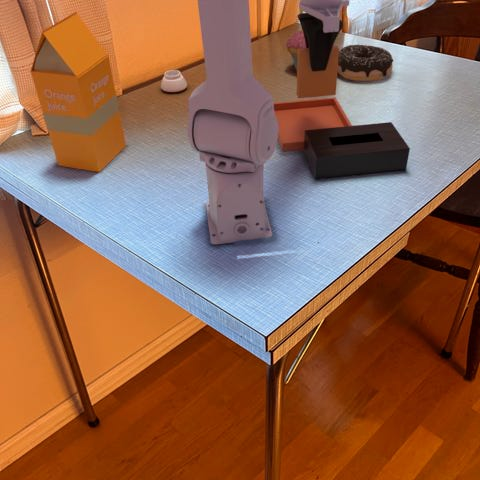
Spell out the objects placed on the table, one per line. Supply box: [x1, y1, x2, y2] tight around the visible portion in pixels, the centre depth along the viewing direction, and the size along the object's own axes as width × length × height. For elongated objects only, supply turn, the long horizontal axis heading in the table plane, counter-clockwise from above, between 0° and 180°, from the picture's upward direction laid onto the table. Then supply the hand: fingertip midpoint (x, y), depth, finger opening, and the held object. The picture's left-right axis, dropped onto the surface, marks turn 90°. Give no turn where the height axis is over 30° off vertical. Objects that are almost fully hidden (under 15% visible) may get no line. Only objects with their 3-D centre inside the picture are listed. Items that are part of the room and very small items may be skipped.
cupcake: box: [285, 7, 306, 71], centre depth 109 cm, size 9×8×12 cm
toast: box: [296, 44, 340, 99], centre depth 87 cm, size 1×6×7 cm, turn 96°
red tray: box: [273, 96, 353, 152], centre depth 94 cm, size 15×12×2 cm
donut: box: [337, 44, 394, 82], centre depth 109 cm, size 11×12×4 cm
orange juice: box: [30, 11, 127, 173], centre depth 84 cm, size 8×9×20 cm
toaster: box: [303, 121, 411, 181], centre depth 84 cm, size 9×14×4 cm, turn 97°
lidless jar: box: [160, 69, 188, 93], centre depth 108 cm, size 5×3×5 cm
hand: (317, 67), depth 86 cm, fingers closed on toast, 1 cm apart
